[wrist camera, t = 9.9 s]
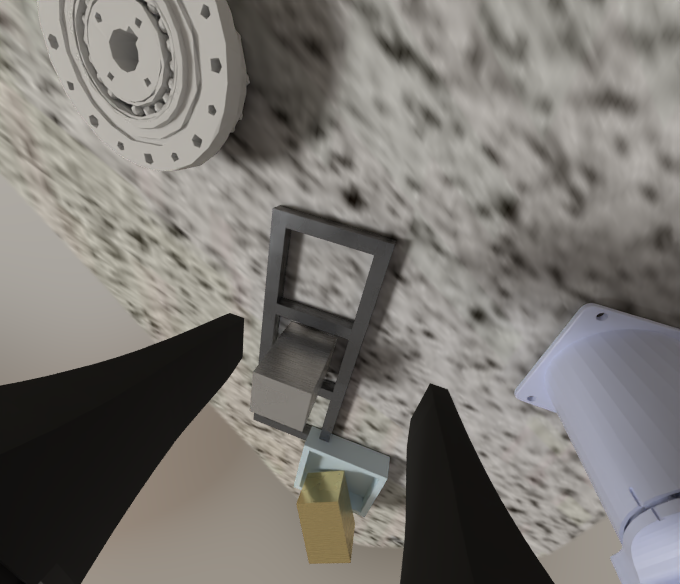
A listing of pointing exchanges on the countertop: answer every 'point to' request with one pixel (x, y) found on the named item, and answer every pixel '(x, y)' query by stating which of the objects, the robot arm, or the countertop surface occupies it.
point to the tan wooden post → (326, 517)
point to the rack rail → (318, 319)
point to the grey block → (292, 375)
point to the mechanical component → (150, 74)
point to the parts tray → (345, 467)
